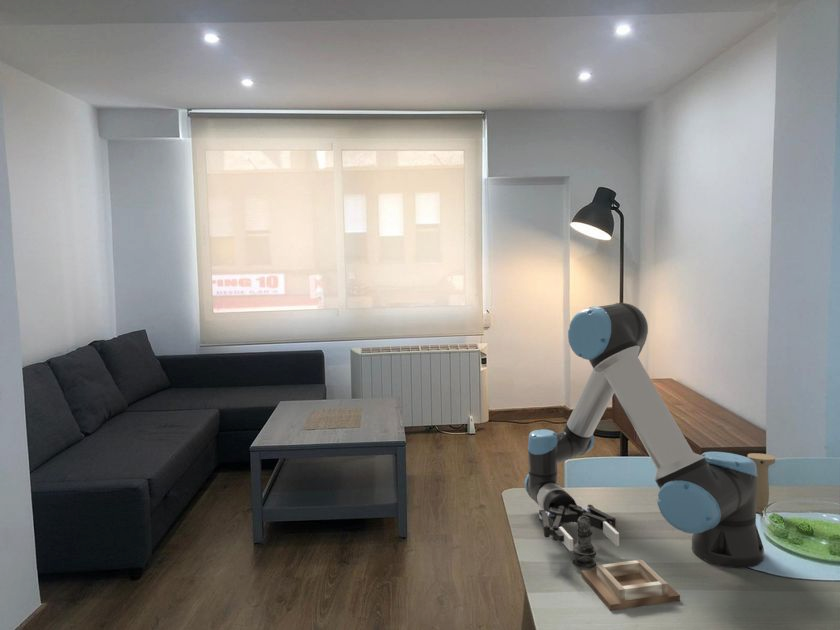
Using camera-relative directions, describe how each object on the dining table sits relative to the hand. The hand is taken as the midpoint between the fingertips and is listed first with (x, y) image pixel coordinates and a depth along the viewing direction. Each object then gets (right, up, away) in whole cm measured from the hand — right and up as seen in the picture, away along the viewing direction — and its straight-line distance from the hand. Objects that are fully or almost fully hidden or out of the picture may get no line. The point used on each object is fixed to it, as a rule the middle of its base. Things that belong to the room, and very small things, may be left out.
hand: (594, 542), depth 146 cm
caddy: (+6, -8, -6) cm, 11 cm away
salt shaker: (-1, -7, +5) cm, 8 cm away
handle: (+51, -2, +29) cm, 59 cm away
